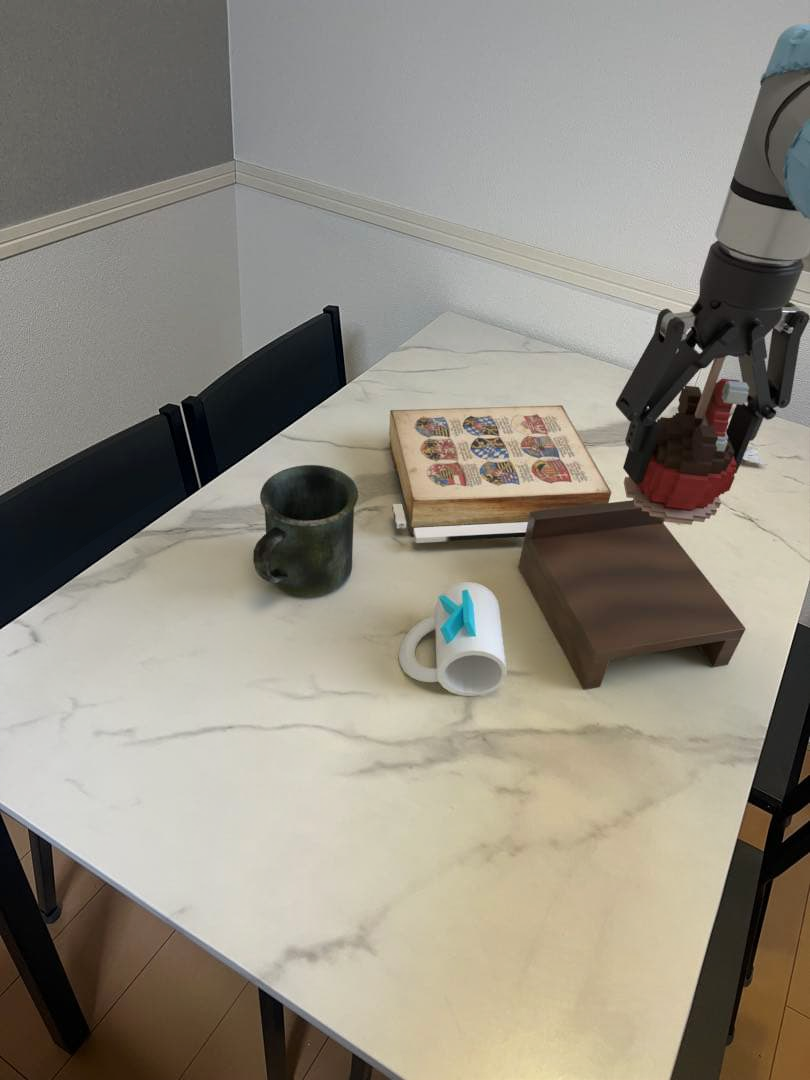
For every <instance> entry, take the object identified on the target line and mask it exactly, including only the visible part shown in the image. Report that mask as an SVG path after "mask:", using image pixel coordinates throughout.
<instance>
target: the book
mask: <svg viewBox="0 0 810 1080" xmlns="http://www.w3.org/2000/svg"><path fill="white" fill-rule="evenodd" d="M388 425H389V426H388V427H389V428H388V437H389V448H390V454H391V458H392V464H393V468H394V470H397V473H398V478H399V482H400V486H401V489H402V490H401V491H402V494H403V498H404V502H405V506H406V516H405V511H404V507H403V504H402V503H392V513H393V517H394V522H395V527H396V529H407V525H408V529H409V532H410V534H411V535H413V538H414V541H415V544H423V543H440V542H442V543H443V542H458V541H477V540H479V541H480V540H492V539H493V540H495V539H497V540H498V539H515V538H516V539H517V538H525V534H526V529H527V524H528V520H529V515H530V512H533V511H542V510H550V509H559V508H568V507H577V506H586V505H595V504H604V503H610V499H611V496H612V490H611V489H610V486H609V485H608V484H607V481H606V480H605V478H604V476H603V474H602V473H601V471H600V470H599V468H598V465H597V464H596V462H595V461H594V459H593V457H592V456H591V454H590V452H589V449H588V448H587V447H586V444H585V443H584V441H583V439H582V437H581V436H580V434H579V433H578V431H577V429H576V427H575V426H574V424H573V422H572V420H571V418H570V416H569V414H568V413H567V412H566V409H565V408H564V406H563V405H562V404H561V405H530V406H528V405H527V406H526V405H525V406H523V405H522V406H495V407H494V406H493V407H491V406H489V407H464V408H463V407H460V408H459V407H458V408H457V407H454V408H425V409H423V408H422V409H391V410H390V411H389V424H388Z"/></svg>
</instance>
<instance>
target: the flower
mask: <svg viewBox="0 0 810 1080" xmlns="http://www.w3.org/2000/svg"><path fill="white" fill-rule="evenodd" d="M756 448H758V446H757V445H754V446H753V447H751V446H747V449H746V451H745V454H744V456H743V459H742V460H744V461H746V462H751V463H755V464H761V465H764V466H769V465H768V464H767V463H766V462H765V461H762V460H759V459H760V457H759V455H758V453H759V451H758V450H757V449H756Z"/></svg>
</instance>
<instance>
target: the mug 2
mask: <svg viewBox="0 0 810 1080" xmlns="http://www.w3.org/2000/svg"><path fill="white" fill-rule="evenodd" d="M502 628H503V627H502V620H501V612H500V605H499V601H498V599H497V597H496V596H495V594H494V593H493V592H492V591H491V590H490V589H489V588H487V587H486V586H485V585H482V584H480V583H477V582H473V581H463V582H458V583H454V584H452V585H450V586H449V587H447V588H446V589H445V590H443V591H442V593H441V594H440V595H439V596H438V599H437V601H436V604H435V608H434V615H431V616H428V617H426V618H424V619H423V620H421V621H419V622H417V623H416V624H415V625H414V626H413V627H412V628H410V630H408V632H407V634H405V636H404V637H403V639H402V642H401V644H400V645H399V651H398V660H399V665H400V667H401V668H402V670H403V672H404V673H405V674H406V675H408V676H409V677H410V678H411V679H414V680H417V681H419V682H426V683H434V682H435V683H436V682H438V683H439V684H440V685H441V687H442V688H443V689H445V690H446V691H448V692H449V693H452V694H455V695H458V696H464V697H476V696H483V695H486V694H490V693H492V692H494V691H495V690H497V689H498V688H500V687H501V685H503V683H504V682H505V681H506V677H507V675H508V673H507V671H508V670H507V664H506V654H505V647H504V639H503V629H502ZM433 631H435V658H436V661H435V662H436V667H427V666H424V665H422V664H421V663H420V662H419V661H418V660H417V657H416V648H417V646H418V644H419V642H420V641H421V640H422V638H423V637H425V636H426V635H427V634H429V633H430V632H433Z"/></svg>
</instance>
